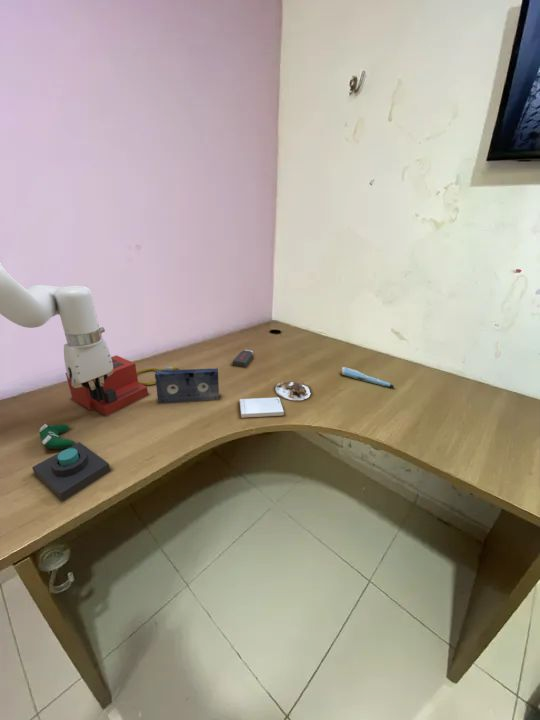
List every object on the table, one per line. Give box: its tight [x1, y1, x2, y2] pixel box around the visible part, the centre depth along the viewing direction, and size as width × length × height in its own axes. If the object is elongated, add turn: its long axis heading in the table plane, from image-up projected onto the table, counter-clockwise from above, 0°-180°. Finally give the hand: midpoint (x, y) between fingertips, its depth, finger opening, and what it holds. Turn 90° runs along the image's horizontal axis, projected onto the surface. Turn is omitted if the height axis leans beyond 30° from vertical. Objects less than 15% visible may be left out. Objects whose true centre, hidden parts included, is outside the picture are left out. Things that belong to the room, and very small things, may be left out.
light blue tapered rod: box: [341, 366, 395, 388], centre depth 112 cm, size 19×3×3 cm, turn 60°
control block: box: [31, 441, 111, 502], centre depth 67 cm, size 12×10×4 cm
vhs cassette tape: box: [154, 368, 220, 404], centre depth 94 cm, size 18×3×10 cm, turn 99°
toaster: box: [65, 355, 149, 417], centre depth 94 cm, size 16×16×9 cm
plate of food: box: [274, 381, 311, 401], centre depth 102 cm, size 12×12×4 cm
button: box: [57, 448, 79, 466], centre depth 66 cm, size 4×4×2 cm
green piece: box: [38, 423, 75, 450], centre depth 76 cm, size 9×4×6 cm
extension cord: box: [136, 365, 178, 387], centre depth 108 cm, size 12×16×2 cm
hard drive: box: [239, 396, 285, 419], centre depth 93 cm, size 2×8×12 cm
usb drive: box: [232, 349, 254, 369], centre depth 123 cm, size 5×12×3 cm, turn 166°
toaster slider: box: [104, 389, 117, 403], centre depth 88 cm, size 2×2×3 cm
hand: (98, 399), depth 85 cm, fingers closed
